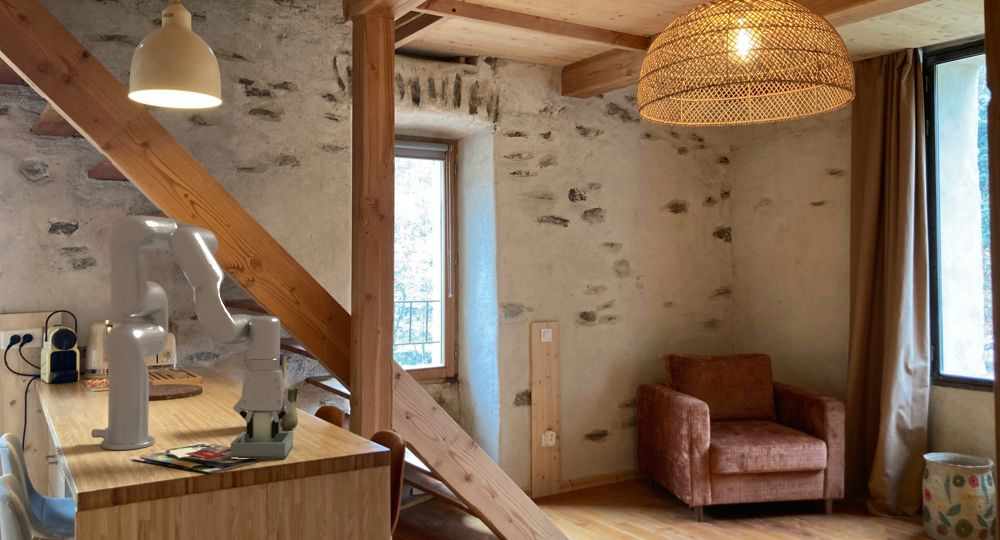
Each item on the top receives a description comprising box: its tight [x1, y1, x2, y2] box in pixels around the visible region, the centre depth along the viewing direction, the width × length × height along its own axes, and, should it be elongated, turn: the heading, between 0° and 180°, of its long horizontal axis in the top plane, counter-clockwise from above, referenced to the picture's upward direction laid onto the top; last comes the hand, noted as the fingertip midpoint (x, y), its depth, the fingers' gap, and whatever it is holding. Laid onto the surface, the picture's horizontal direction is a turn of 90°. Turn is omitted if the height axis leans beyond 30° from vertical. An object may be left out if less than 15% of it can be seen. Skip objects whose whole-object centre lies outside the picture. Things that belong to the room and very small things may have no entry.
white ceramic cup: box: [252, 411, 273, 443], centre depth 198 cm, size 5×5×8 cm
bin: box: [230, 431, 294, 461], centre depth 198 cm, size 13×13×4 cm
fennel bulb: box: [281, 387, 299, 430], centre depth 226 cm, size 6×5×12 cm
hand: (262, 436), depth 198 cm, fingers closed on white ceramic cup, 5 cm apart
